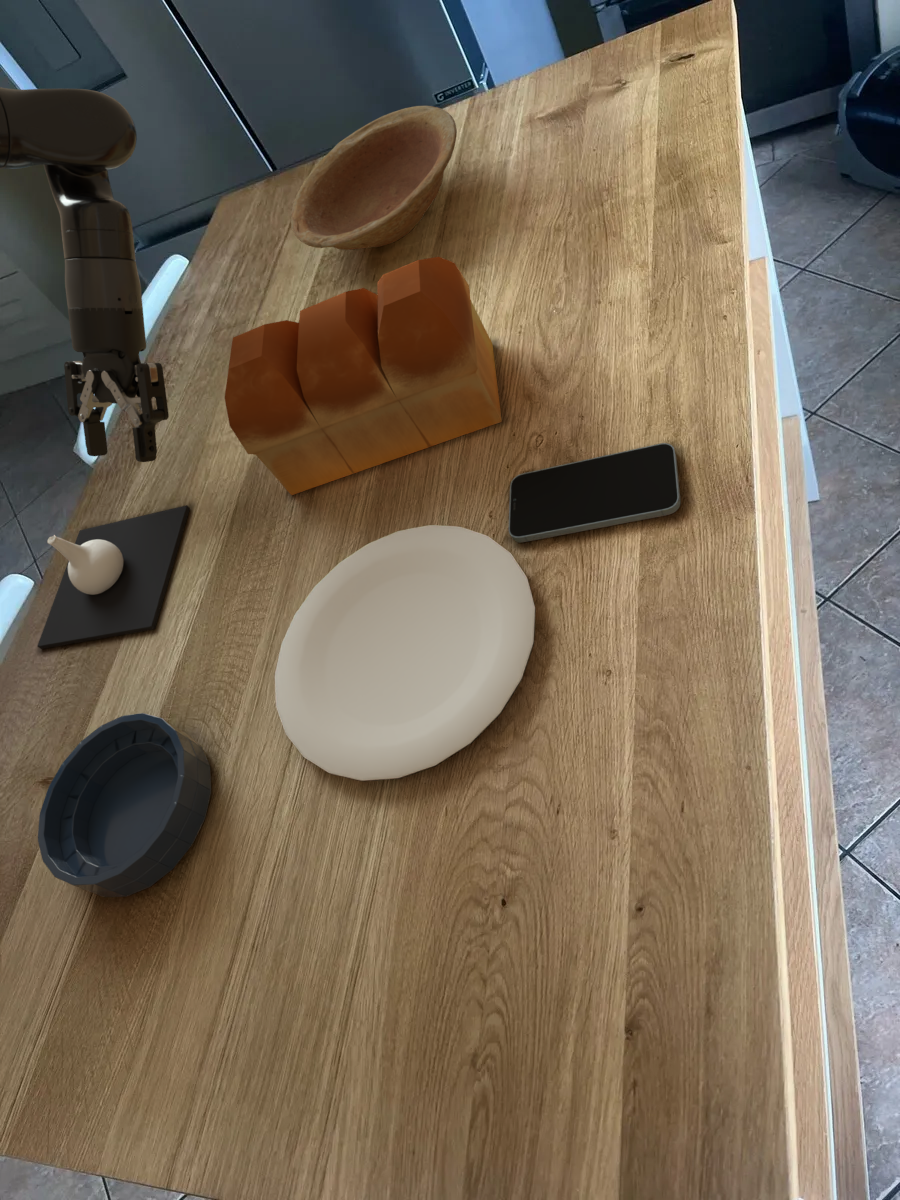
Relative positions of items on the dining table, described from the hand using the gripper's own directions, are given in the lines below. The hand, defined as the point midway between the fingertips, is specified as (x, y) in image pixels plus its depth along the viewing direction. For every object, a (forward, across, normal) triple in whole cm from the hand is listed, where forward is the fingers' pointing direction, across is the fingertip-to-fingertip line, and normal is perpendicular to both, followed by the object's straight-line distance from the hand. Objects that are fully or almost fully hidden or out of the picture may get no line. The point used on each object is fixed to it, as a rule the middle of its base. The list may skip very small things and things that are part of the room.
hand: (121, 458), depth 101 cm
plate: (+14, +42, -4) cm, 44 cm away
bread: (-4, +27, +14) cm, 31 cm away
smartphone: (+1, +53, +9) cm, 54 cm away
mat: (+13, +1, -3) cm, 13 cm away
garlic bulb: (+13, 0, -4) cm, 13 cm away
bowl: (-27, +11, +38) cm, 47 cm away
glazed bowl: (+28, +23, -18) cm, 41 cm away
